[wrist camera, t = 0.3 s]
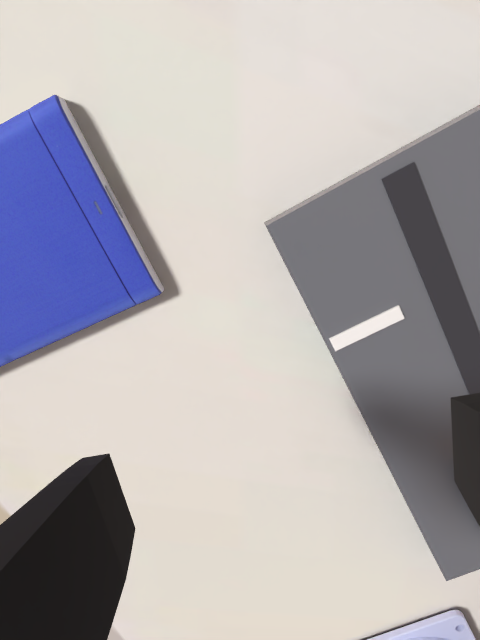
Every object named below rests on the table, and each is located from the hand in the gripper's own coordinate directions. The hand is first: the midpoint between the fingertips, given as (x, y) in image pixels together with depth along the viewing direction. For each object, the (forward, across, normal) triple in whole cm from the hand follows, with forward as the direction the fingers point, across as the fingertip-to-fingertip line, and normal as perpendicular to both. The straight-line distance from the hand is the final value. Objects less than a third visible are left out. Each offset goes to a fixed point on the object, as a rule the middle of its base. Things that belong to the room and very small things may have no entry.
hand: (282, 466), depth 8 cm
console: (+10, -8, +4) cm, 14 cm away
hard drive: (+10, +11, -5) cm, 16 cm away
